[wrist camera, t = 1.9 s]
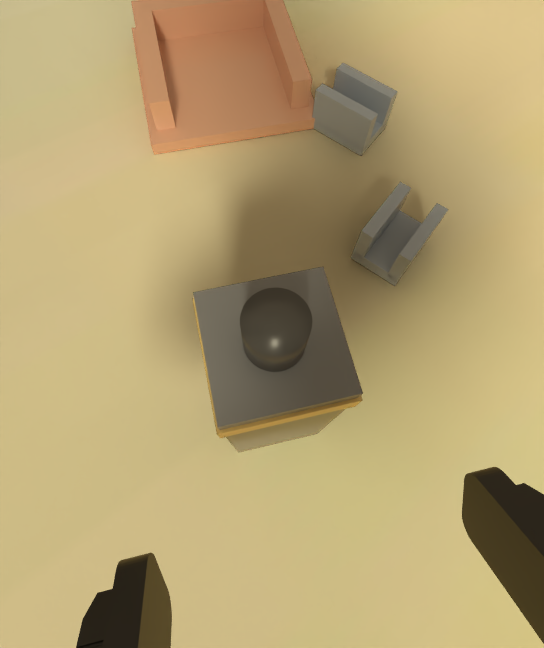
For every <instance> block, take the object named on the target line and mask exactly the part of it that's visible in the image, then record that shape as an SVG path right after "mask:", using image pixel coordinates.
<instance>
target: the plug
mask: <svg viewBox="0 0 544 648" xmlns="http://www.w3.org/2000/svg"><path fill="white" fill-rule="evenodd" d="M193 295H194V298H192V299H193V305H194V310H195V316H196V321H197V327H198V332H199V338H200V343H201V349H202V354H203V360H204V365H205V371H206V376H207V382H208V388H209V393H210V399H211V404H212V410H213V415H214V421H215V426H216V432H217V435H218V436H219V437H220V438H223V437H226V438H227V439H228V440H229V442H230V443H231V444H232V445H233V446H234V448H235V449H236V450H237V451H238V452H243V451H247V450H251V449H255V448H259V447H264V446H268V445H272V444H276V443H280V442H284V441H289V440H293V439H297V438H301V437H305V436H309V435H313V434H317V433H319V432H320V431H321V430H322V429H323V428H324V427H325V426H327V425H328V424H329V423H330V422H331V421H332V420H333V419H334V418H336V417H337V416H338V415H339V414H340V413H341V412H342V411H344V410H345V409H346V408H350V407H355V406H356V405H357V404H359V403H360V402H361V401H362V397H361V395H362V394H363V392H362V389H361V386H360V383H359V380H358V376H357V373H356V370H355V367H354V364H353V360H352V357H351V354H350V351H349V348H348V344H347V341H346V338H345V335H344V332H343V328H342V325H341V322H340V319H339V316H338V312H337V309H336V306H335V303H334V300H333V296H332V293H331V290H330V287H329V284H328V280H327V277H326V274H325V271H324V268H323V267H318V268H313V269H308V270H303V271H298V272H293V273H288V274H283V275H278V276H273V277H268V278H263V279H258V280H253V281H248V282H243V283H238V284H233V285H228V286H223V287H218V288H213V289H208V290H203V291H198V292H193Z"/></svg>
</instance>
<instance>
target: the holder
mask: <svg viewBox="0 0 544 648" xmlns="http://www.w3.org/2000/svg"><path fill="white" fill-rule="evenodd" d="M131 2H132V8H133V14H134V20H135V25H136V27H135V28H132V32H133V38H134V44H135V50H136V56H137V62H138V68H139V74H140V80H141V86H142V92H143V98H144V104H145V110H146V116H147V122H148V128H149V134H150V140H151V146H152V149H153V152H154V154H160V153H166V152H172V151H178V150H184V149H191V148H197V147H203V146H209V145H215V144H221V143H228V142H234V141H240V140H246V139H252V138H258V137H265V136H271V135H277V134H283V133H289V132H295V131H301V130H308V129H314V122H315V118H313V117H312V115H313V108H314V99H313V96H312V94H311V83H312V78H311V75H310V72H309V70H308V67H307V64H306V62H305V59H304V56H303V53H302V51H301V48H300V45H299V42H298V40H297V37H296V34H295V32H294V29H293V26H292V23H291V21H290V18H289V15H288V13H287V10H286V7H285V4H284V2H283V0H137V1H131Z"/></svg>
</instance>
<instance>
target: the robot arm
mask: <svg viewBox="0 0 544 648" xmlns="http://www.w3.org/2000/svg"><path fill="white" fill-rule="evenodd" d="M462 519H463V523H464V527H465V529H466V532H467V534H468V536H469V537H470V539H471V541H472V542H473V544H474V545H475V547H476V548H477V549H478V551H479V552H480V554H481V555H482V556H483V558H484V559H485V561H486V562H487V564H488V565H489V566H490V568H491V569H492V571H493V572H494V574H495V575H496V576H497V578H498V579H499V581H500V582H501V584H502V585H503V586H504V588H505V589H506V591H507V592H508V594H509V595H510V596H511V598H512V599H513V601H514V602H515V603H516V605H517V606H518V608H519V609H520V611H521V612H522V613H523V615H524V616H525V618H526V619H527V621H528V622H529V623H530V625H531V626H532V628H533V629H534V631H535V632H536V633H537V635H538V636H539V638H540V639H541V641H542V642H543V643H544V495H543V494H542V493H540V492H538V491H537V490H535V489H533V488H532V487H530V486H528V485H527V484H525V483H523V484H519V485H515V484H514V483H513V482H512V481H511V479H510V478H509V477H508V476H507V475H506V474H505V473H504V472H503V471H502V470H500V469H499V468H497V467H491V468H488V469H484V470H480V471H476V472H472V473H468V474H466V475H465V479H464V492H463V505H462ZM171 624H172V612H171V602H170V596H169V592H168V589H167V586H166V584H165V581H164V579H163V576H162V574H161V571H160V569H159V566H158V564H157V561H156V558H155V556H154V554H153V553H148V554H144V555H140V556H136V557H132V558H128V559H124V560H121V561H120V562H119V563H118V565H117V569H116V574H115V579H114V585H113V589H111V590H107V591H103V592H99V593H97V595H96V597H95V598H94V600H93V602H92V604H91V605H90V607H89V609H88V611H87V613H86V614H85V616H84V618H83V620H82V625H81V629H80V633H79V638H78V642H77V646H76V648H170V646H171Z"/></svg>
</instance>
